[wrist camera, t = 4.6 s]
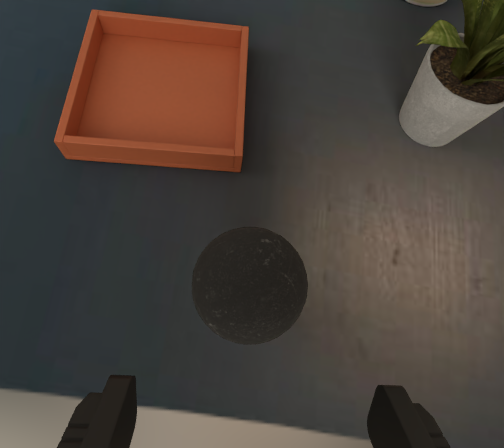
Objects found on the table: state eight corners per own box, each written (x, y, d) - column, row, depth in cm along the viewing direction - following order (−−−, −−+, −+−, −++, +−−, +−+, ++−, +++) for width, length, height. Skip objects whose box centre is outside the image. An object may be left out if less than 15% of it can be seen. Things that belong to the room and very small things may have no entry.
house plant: (383, 222, 28) (587, 45, 13) (314, 85, 32) (403, -165, 17) (527, 177, 31) (830, -9, 16) (445, 58, 35) (619, -175, 20)
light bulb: (209, 259, 25) (206, 195, 16) (287, 276, 25) (329, 222, 16) (188, 341, 23) (171, 322, 14) (273, 359, 23) (313, 353, 14)
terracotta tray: (66, 159, 27) (53, 141, 25) (99, 33, 32) (91, 9, 30) (240, 172, 28) (242, 156, 26) (246, 48, 33) (248, 26, 31)
